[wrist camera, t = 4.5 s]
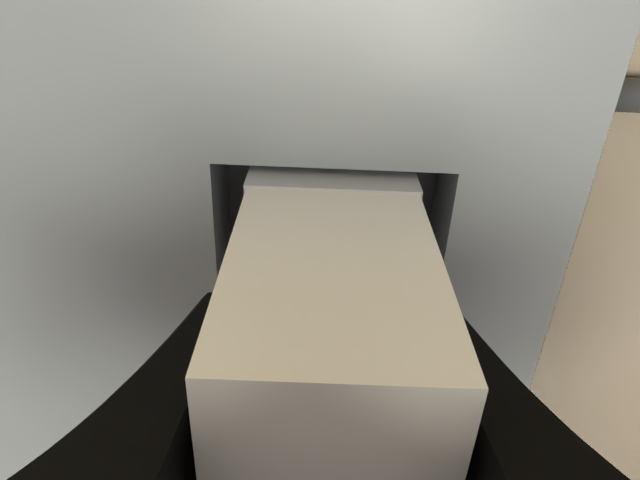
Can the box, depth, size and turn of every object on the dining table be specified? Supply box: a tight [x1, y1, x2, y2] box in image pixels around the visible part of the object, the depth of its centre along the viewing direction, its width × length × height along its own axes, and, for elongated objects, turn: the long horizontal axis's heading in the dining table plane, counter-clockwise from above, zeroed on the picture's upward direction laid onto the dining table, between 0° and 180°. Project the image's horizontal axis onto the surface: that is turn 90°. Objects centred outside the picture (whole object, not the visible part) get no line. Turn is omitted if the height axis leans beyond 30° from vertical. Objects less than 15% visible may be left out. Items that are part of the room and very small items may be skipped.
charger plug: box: [185, 165, 489, 480], centre depth 10 cm, size 4×3×6 cm
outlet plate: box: [0, 0, 640, 480], centre depth 13 cm, size 18×14×2 cm
